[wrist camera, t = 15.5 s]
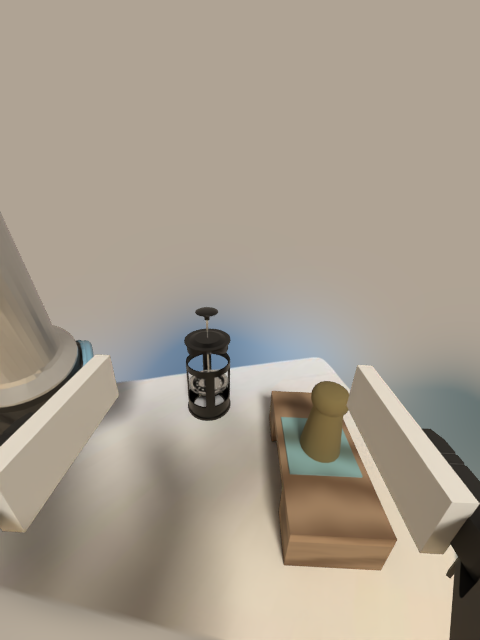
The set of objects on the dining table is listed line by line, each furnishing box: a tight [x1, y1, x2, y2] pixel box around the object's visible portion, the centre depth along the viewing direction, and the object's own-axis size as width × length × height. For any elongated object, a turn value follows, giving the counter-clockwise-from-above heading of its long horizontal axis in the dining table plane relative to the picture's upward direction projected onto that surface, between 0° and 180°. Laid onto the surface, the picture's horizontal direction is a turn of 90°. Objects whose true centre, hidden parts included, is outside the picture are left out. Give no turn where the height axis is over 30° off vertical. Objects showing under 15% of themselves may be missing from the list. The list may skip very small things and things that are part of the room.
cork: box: [300, 381, 349, 463], centre depth 36 cm, size 6×6×11 cm
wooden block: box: [269, 391, 397, 570], centre depth 40 cm, size 24×12×7 cm, turn 178°
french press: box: [184, 307, 230, 421], centre depth 51 cm, size 12×9×23 cm
